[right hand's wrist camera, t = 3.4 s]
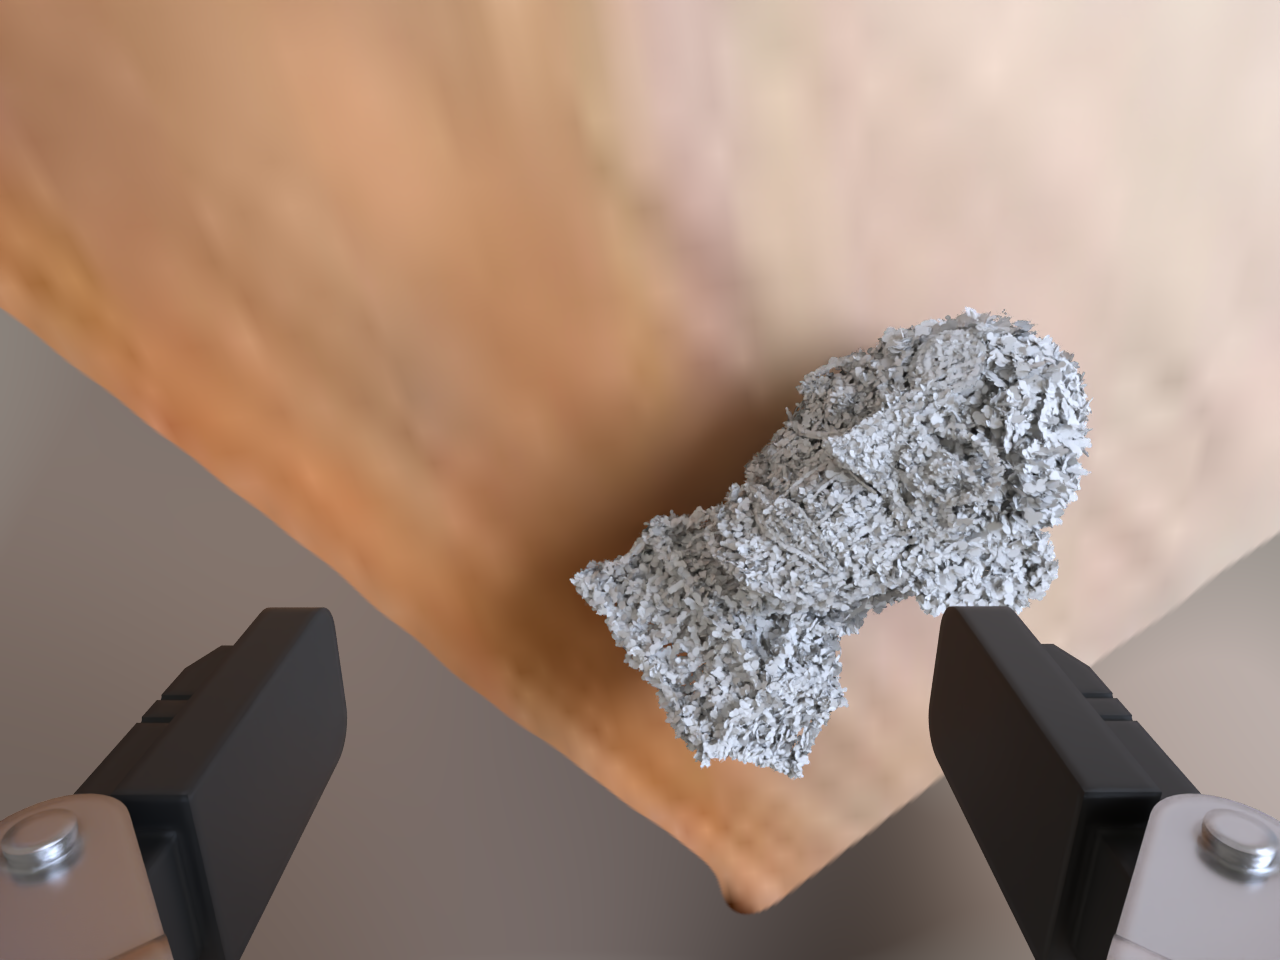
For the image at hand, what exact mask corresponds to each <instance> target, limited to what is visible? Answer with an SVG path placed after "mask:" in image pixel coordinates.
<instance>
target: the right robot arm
mask: <svg viewBox="0 0 1280 960" xmlns="http://www.w3.org/2000/svg"><path fill="white" fill-rule="evenodd" d="M346 728H347V709H346V701H345V694H344V687H343V680H342V673H341V666H340V659H339V652H338V645H337V638H336V631H335V625H334V620H333V617H332V615H331V613H330V611H329V610H328V609H327V608H266V609H264V610H263V611H262V612H261V613H260V614H259V615H258V617H257V618H256V619H255V620H254V621H253V623H252V624H251V625H250V626H249V627H248V629H247V630H246V631H245V632H244V634H243V635H242V636H241V637H240V638H239V639H238V641H237V642H236V643H235V644H234V646H220V647H218V648H217V649H215V650H214V651H212V652H210V653H209V654H207V655H206V656H204V657H202V658H201V659H199V660H198V661H196V662H195V663H193V664H191V665H190V666H188V667H186V668H185V669H184V670H183V671H182V672H181V674H180V675H179V676H178V677H177V678H176V679H175V680H174V681H173V683H172V684H171V685H170V686H169V687H168V688H167V689H166V690H165V692H164V693H163V694H162V698H161V700H157V701H156V702H155V703H154V704H153V705H152V706H151V707H150V709H149V710H148V711H147V712H146V713H145V714H144V715H143V716H142V722H141V723H136V724H135V726H134V727H133V728H132V729H131V730H130V731H129V732H128V733H127V735H126V736H125V737H124V738H123V739H122V740H121V741H120V742H119V744H118V745H117V746H116V747H115V748H114V749H113V750H112V751H111V753H110V754H109V755H108V756H107V757H106V758H105V759H104V760H103V762H102V763H101V764H100V765H99V766H98V767H97V768H96V769H95V771H94V772H93V773H92V774H91V775H90V776H89V777H88V779H87V780H86V781H85V782H84V783H83V784H82V785H81V786H80V788H79V789H78V790H77V791H76V792H75V793H74V794H73V795H68V796H63V797H58V798H54V799H50V800H47V801H44V802H41V803H38V804H35V805H33V806H30V807H28V808H25V809H23V810H21V811H19V812H16V813H14V814H12V815H10V816H8V817H7V818H5V819H3V820H2V821H0V960H240V958H241V956H242V954H243V952H244V950H245V948H246V946H247V944H248V942H249V940H250V938H251V936H252V934H253V932H254V930H255V928H256V926H257V924H258V922H259V920H260V918H261V916H262V914H263V912H264V910H265V908H266V906H267V904H268V902H269V900H270V898H271V896H272V894H273V892H274V890H275V888H276V886H277V884H278V882H279V880H280V878H281V876H282V874H283V871H284V870H285V867H286V865H287V863H288V861H289V859H290V857H291V855H292V853H293V851H294V849H295V847H296V845H297V843H298V841H299V839H300V837H301V835H302V833H303V831H304V829H305V827H306V825H307V823H308V821H309V819H310V817H311V815H312V813H313V811H314V809H315V807H316V805H317V803H318V801H319V799H320V797H321V795H322V793H323V791H324V789H325V787H326V785H327V783H328V781H329V779H330V777H331V775H332V773H333V771H334V769H335V767H336V765H337V763H338V761H339V759H340V756H341V753H342V750H343V747H344V742H345V737H346ZM929 731H930V738H931V743H932V747H933V750H934V753H935V756H936V758H937V760H938V762H939V764H940V766H941V768H942V770H943V772H944V775H945V777H946V779H947V781H948V783H949V785H950V787H951V789H952V791H953V793H954V795H955V797H956V799H957V801H958V803H959V805H960V807H961V809H962V811H963V813H964V815H965V817H966V819H967V821H968V823H969V825H970V827H971V829H972V831H973V833H974V836H975V838H976V840H977V842H978V844H979V846H980V848H981V850H982V852H983V854H984V856H985V858H986V860H987V862H988V864H989V866H990V868H991V870H992V872H993V874H994V876H995V878H996V880H997V882H998V884H999V886H1000V889H1001V891H1002V893H1003V895H1004V897H1005V899H1006V901H1007V903H1008V905H1009V907H1010V909H1011V911H1012V913H1013V915H1014V917H1015V919H1016V921H1017V923H1018V925H1019V927H1020V929H1021V931H1022V933H1023V935H1024V937H1025V939H1026V941H1027V943H1028V945H1029V947H1030V950H1031V952H1032V954H1033V956H1034V958H1035V960H1280V821H1278V820H1277V819H1275V818H1273V817H1272V816H1270V815H1268V814H1266V813H1264V812H1261V811H1259V810H1257V809H1255V808H1252V807H1250V806H1247V805H1245V804H1242V803H1239V802H1236V801H1233V800H1230V799H1226V798H1222V797H1217V796H1212V795H1205V794H1201V793H1200V792H1199V791H1198V790H1197V789H1196V788H1195V786H1194V785H1193V784H1192V783H1191V782H1190V781H1189V780H1188V778H1187V777H1186V776H1185V775H1184V774H1183V773H1182V772H1181V771H1180V769H1179V768H1178V767H1177V766H1176V765H1175V764H1174V763H1173V761H1172V760H1171V759H1170V758H1169V757H1168V756H1167V755H1166V753H1165V752H1164V751H1163V750H1162V749H1161V748H1160V747H1159V745H1158V744H1157V743H1156V742H1155V741H1154V740H1153V739H1152V737H1151V736H1150V735H1149V734H1148V733H1147V732H1146V731H1145V729H1144V728H1143V727H1142V726H1141V725H1140V724H1139V723H1138V722H1137V721H1133V720H1132V715H1131V714H1130V712H1129V711H1128V710H1127V709H1126V708H1125V707H1124V706H1123V704H1122V703H1121V702H1120V701H1119V700H1118V699H1117V698H1113V696H1112V692H1111V691H1110V690H1109V689H1108V687H1107V686H1106V685H1105V684H1104V683H1103V682H1102V681H1101V679H1100V678H1099V677H1098V676H1097V675H1096V674H1095V673H1094V671H1093V670H1092V669H1091V668H1090V667H1089V666H1088V665H1086V664H1084V663H1083V662H1081V661H1080V660H1078V659H1076V658H1075V657H1073V656H1072V655H1070V654H1068V653H1067V652H1065V651H1064V650H1062V649H1060V648H1059V647H1057V646H1056V645H1054V644H1041V643H1040V642H1039V641H1038V640H1037V638H1036V637H1035V636H1034V635H1033V634H1032V632H1031V631H1030V630H1029V629H1028V627H1027V626H1026V625H1025V624H1024V623H1023V621H1022V620H1021V619H1020V618H1019V617H1018V615H1017V614H1016V613H1015V612H1014V611H1013V610H1012V609H1011V608H1010V607H1007V606H950V607H948V608H947V609H946V610H945V612H944V614H943V617H942V620H941V625H940V632H939V640H938V647H937V654H936V661H935V668H934V675H933V682H932V689H931V697H930V704H929Z"/></svg>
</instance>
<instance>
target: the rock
mask: <svg viewBox="0 0 1280 960" xmlns="http://www.w3.org/2000/svg"><path fill="white" fill-rule="evenodd" d="M965 307H966V306H965ZM965 311H966V313H965V314H961V315H960V316H958V317H955V318H956V320H954V319H950V318H951V317H950V316H949V315H947V316H946V317H945V318H946V319H947V321H945V322H944V320H943V319H942V320H940V318H939V320H938V321H939V323H938V322H937V320H933V319H932V320H929V321H928V320H926V321H923V322H922V323H921V325H919V324H918V325H916V326H915V327H914V326H912V327H910V328H909V329H907V328H906V330H905V329H904V328H902V329H901V327H900V329H899V328H898V329H899V330H895V329H894V328H892V327H891V326H890V328H889V327H888V328H887V329H886V331H884V334H883V335H884V336H883V337H882V338H879V339H878V340H880V342H878V343H879V344H878V345H879V346H878V345H877V346H875V347H876V348H874V347H873V348H872V347H871V348H868V351H867V350H866V351H867V352H868V353H869V355H868V354H866V353H867V352H866V353H865V352H862V350H859V353H858V352H856V353H855V352H854V353H853V352H852V353H851V355H847V356H845V357H841V358H838V359H837V357H831V358H830V360H829V361H828V363H829V364H827V365H823V366H822V367H820V368H819V367H818V368H819V369H818V370H817V369H816V371H815V372H812V371H811V372H810V374H807V375H804V381H805V382H804V381H803V380H802V381H800V382H799V383H802V384H801V386H800V385H798V386H797V387H795V388H798V389H796V390H797V391H798V392H799V394H798V395H800V394H803V393H804V398H803V401H802V402H801V403H800V404H798V403H796V404H795V405H797V407H796V409H795V411H794V413H793V415H792V414H791V412H790V411H789V410H788V407H786V408H785V409H786V414H787V415H788V419H790V420H789V421H787V420H786V422H784V423H783V424H784V425H785V427H783V428H782V429H780V430H778V431H777V433H778V434H777V433H776V434H774V435H773V437H772V440H771V442H770V443H769V444H770V445H768V444H767V445H768V446H767V445H765V447H764V448H763V449H762V451H763V452H762V451H761V452H762V453H761V452H759V454H758V452H757V451H756V452H757V453H756V454H755V456H758V457H753V460H751V462H750V463H747V464H746V465H744V467H746V469H745V468H744V469H745V470H746V471H744V472H746V473H743V474H746V475H745V478H747V482H746V481H745V482H746V483H745V484H743V485H741V487H739V485H738V483H735V484H734V485H732V488H731V487H729V490H730V492H729V493H730V494H729V497H728V498H727V497H726V499H723V500H726V501H728V502H726V503H725V504H726V505H725V504H724V505H723V502H722V504H721V506H720V505H719V504H717V505H718V507H717V506H715V507H713V506H711V507H712V510H711V509H710V508H708V509H707V510H706V511H705V510H703V509H702V508H701V507H702V506H701V507H700V506H699V507H697V508H696V510H694V511H693V513H692V515H691V516H690V517H688V515H689V514H688V515H687V514H683V515H681V517H679V516H678V515H677V516H678V517H677V516H676V515H675V513H673V509H672V510H670V514H671V515H670V517H667V516H666V515H665V516H664V517H662V518H661V516H659V515H657V516H654V517H655V518H653V519H652V518H651V519H652V520H651V521H650V524H649V523H647V522H643V523H644V524H643V525H649V526H648V527H647V529H643V531H642V533H643V534H641V535H642V537H641V538H640V537H638V538H637V542H636V541H635V542H634V545H635V546H634V545H633V546H632V548H631V549H630V552H629V553H627V554H626V555H625V556H621V555H618V556H617V558H615V559H614V561H612V562H613V563H612V562H609V560H608V561H607V560H605V562H604V563H601V561H600V562H598V563H596V561H593V560H592V562H589V563H588V565H587V566H586V568H589V567H591V568H589V569H585V570H583V569H582V568H581V569H580V570H581V572H580V573H578V572H577V571H576V572H577V573H576V574H575V575H574V576H576V577H574V578H575V580H574V579H569V580H571V583H573V585H575V586H576V590H577V591H576V592H578V594H580V595H581V596H583V597H582V599H583V598H585V600H586V602H587V603H586V604H589V605H590V606H592V607H593V608H592V610H593V611H594V610H596V611H597V613H598V614H599V615H600V616H601V615H602V614H604V616H605V615H607V619H605V621H604V622H605V623H606V624H607V626H608V627H609V630H610V632H611V631H613V634H614V635H613V634H611V635H612V638H613V639H614V640H616V639H617V640H616V641H615V642H616V644H615V645H616V646H618V647H623V648H624V649H625V650H626V653H627V654H625V657H626V659H624V660H623V661H624V663H627V662H628V663H629V666H630V667H631V668H632V667H633V669H638V668H640V669H639V671H640V670H643V671H642V672H643V674H644V675H643V676H641V677H642V680H643V681H644V680H646V681H649V682H650V683H651V684H652V686H655V687H656V688H657V690H658V689H660V690H659V692H656V695H658V696H659V702H658V703H659V705H660V707H659V708H660V709H661V708H664V709H665V711H666V712H669V713H666V715H667V717H668V719H667V718H666V722H667V723H671V727H673V729H676V730H675V734H677V736H675V739H676V738H680V736H681V739H683V740H685V744H686V743H687V742H688V743H687V744H688V745H687V746H686V747H687V749H688V747H689V749H690V750H692V752H693V751H694V750H695V749H697V751H698V752H697V751H696V752H697V753H696V756H695V755H694V757H695V758H696V761H695V762H697V760H699V761H701V762H702V765H701V766H700V767H701V768H703V767H704V765H705V766H707V767H708V766H710V762H709V761H710V759H711V758H715V757H716V758H717V759H719V758H720V757H721V758H722V757H723V758H724V760H725V758H727V757H728V756H729V755H730V757H731V756H732V757H731V758H732V760H734V759H738V760H739V761H740V762H741V761H743V762H744V763H745V764H746V762H752V760H753V764H754V763H755V765H756V766H757V767H758V765H761V766H760V767H763V768H764V767H766V766H767V767H768V766H769V767H770V768H772V769H773V770H775V771H778V770H779V772H780V773H781V772H783V773H784V775H785V773H786V775H788V777H790V778H793V777H794V776H795V778H794V780H795V779H796V778H798V777H799V779H800V776H801V777H804V776H803V775H802V771H801V770H802V768H801V767H803V765H804V764H809V763H810V762H809V761H808V756H809V755H808V756H807V754H808V753H809V752H810V753H811V751H812V749H811V746H812V743H813V745H815V743H814V740H815V738H816V737H817V735H818V733H819V731H821V730H822V729H821V728H820V727H821V725H823V724H824V725H826V726H827V724H826V723H827V722H828V719H829V720H830V718H829V716H830V715H831V714H830V713H829V712H832V711H834V710H837V709H836V708H838V706H839V707H842V706H845V707H848V706H849V705H848V704H847V703H848V702H847V699H845V698H844V697H842V696H843V695H844V694H843V693H842V692H843V691H844V692H846V691H847V688H843V689H842V688H841V687H840V683H838V680H839V678H841V677H839V674H840V672H841V671H842V668H843V666H842V663H839V662H838V659H839V657H840V656H841V652H840V655H839V654H838V657H836V655H835V650H837V651H839V650H840V651H841V649H842V648H841V646H840V644H839V641H840V639H841V636H842V635H846V634H847V635H850V634H851V633H852V632H853V633H852V634H854V633H855V634H859V632H858V629H860V627H862V625H863V624H864V620H862V619H863V618H864V619H865V617H866V618H867V614H866V613H867V612H868V611H867V610H869V609H871V608H873V607H874V608H873V609H874V610H873V611H875V612H876V613H877V614H880V612H881V611H883V608H886V607H887V606H885V605H886V602H887V603H890V605H891V606H892V604H893V603H894V604H895V602H894V601H895V600H896V601H898V603H899V602H900V601H901V600H903V599H908V597H909V596H914V595H915V596H916V601H918V603H920V604H919V605H921V606H920V608H921V609H922V610H924V613H926V614H927V615H928V614H931V615H933V616H934V617H935V616H938V615H940V612H941V611H943V612H944V610H945V609H946V608H948V607H950V606H1007V607H1010V608H1011V609H1012V610H1013V611H1014V610H1015V609H1016V610H1015V612H1017V615H1018V614H1019V613H1020V612H1022V607H1024V608H1025V606H1028V607H1029V603H1030V602H1028V599H1027V598H1030V599H1031V598H1032V599H1033V600H1034V599H1037V600H1039V601H1040V600H1043V597H1044V596H1046V592H1044V591H1046V590H1049V586H1050V585H1049V584H1051V581H1052V580H1054V579H1056V578H1058V575H1056V574H1057V572H1058V571H1057V569H1058V568H1059V566H1058V565H1059V564H1058V563H1059V562H1058V561H1057V562H1056V561H1055V560H1054V561H1051V560H1053V559H1054V558H1055V553H1054V552H1053V550H1054V547H1052V546H1053V545H1052V546H1050V545H1051V544H1052V541H1050V543H1049V545H1047V544H1048V542H1047V541H1048V540H1049V539H1050V538H1049V537H1050V535H1051V533H1050V534H1049V531H1048V532H1042V531H1039V529H1040V528H1041V529H1042V528H1043V526H1044V528H1045V526H1050V527H1051V528H1053V527H1052V526H1053V524H1054V525H1057V526H1058V524H1061V522H1063V521H1062V520H1060V519H1061V518H1059V517H1061V515H1063V514H1064V511H1065V510H1064V511H1063V510H1062V509H1066V507H1067V506H1066V504H1067V505H1068V502H1069V503H1070V502H1071V501H1072V502H1074V501H1076V500H1077V499H1078V498H1077V497H1078V496H1077V495H1076V493H1075V494H1074V491H1076V490H1080V489H1081V487H1079V486H1080V485H1079V483H1080V479H1078V478H1079V477H1078V476H1079V475H1081V476H1082V475H1085V474H1086V475H1088V473H1092V472H1090V471H1089V472H1087V471H1086V469H1083V468H1081V464H1079V463H1078V462H1077V459H1076V457H1077V458H1079V457H1080V456H1081V455H1082V452H1083V453H1084V454H1086V455H1087V456H1088V457H1089V455H1088V452H1085V447H1086V446H1087V447H1089V448H1090V447H1092V444H1091V443H1090V442H1091V439H1090V438H1086V437H1084V436H1085V435H1086V434H1087V432H1088V431H1090V430H1092V429H1093V428H1092V429H1087V428H1085V427H1086V426H1087V425H1086V424H1087V422H1088V420H1089V419H1088V418H1087V417H1088V416H1086V415H1088V414H1089V411H1090V413H1091V412H1092V411H1091V409H1090V408H1091V407H1089V403H1088V402H1087V401H1089V400H1087V401H1085V400H1086V399H1085V397H1086V398H1087V395H1086V394H1085V393H1084V390H1083V388H1085V386H1086V384H1084V385H1081V383H1083V382H1084V381H1083V380H1082V378H1083V376H1084V374H1085V372H1084V371H1083V374H1082V376H1081V374H1079V373H1078V374H1076V373H1077V369H1076V368H1080V366H1077V365H1078V363H1077V362H1075V361H1074V362H1071V361H1072V358H1073V357H1074V354H1071V355H1069V354H1070V353H1068V352H1067V353H1066V352H1065V351H1062V352H1061V353H1060V352H1059V351H1060V350H1061V349H1060V350H1059V348H1060V347H1059V348H1058V347H1057V346H1058V345H1057V344H1055V343H1054V342H1051V341H1052V338H1050V336H1049V335H1047V336H1046V337H1044V338H1043V339H1041V337H1039V338H1037V339H1036V336H1034V335H1036V334H1037V333H1036V332H1037V331H1034V332H1033V331H1031V332H1033V333H1031V334H1030V332H1028V331H1029V330H1030V329H1031V328H1032V327H1033V326H1034V325H1035V324H1030V325H1029V322H1030V321H1029V322H1028V321H1027V320H1026V322H1025V321H1022V320H1017V322H1015V323H1012V324H1013V325H1015V326H1016V325H1017V326H1018V327H1013V325H1011V323H1010V322H1009V320H1010V317H1007V318H1006V317H1003V318H1002V316H999V315H998V316H996V315H993V316H991V317H990V316H989V315H990V313H991V311H990V312H989V313H987V314H986V313H984V315H983V313H982V314H977V312H976V310H973V309H972V308H969V306H968V308H967V307H966V309H965ZM965 311H964V312H965ZM1004 311H1005V309H1004V310H1003V311H1002V313H1003V312H1004ZM960 313H961V312H960ZM962 313H963V312H962ZM1000 314H1001V313H1000ZM1004 314H1005V315H1006V314H1007V313H1006V312H1005V313H1004ZM957 315H958V314H957ZM1008 316H1009V315H1008ZM997 317H998V318H999V320H998V322H995V321H993V320H995V319H996V318H997ZM1011 318H1012V316H1011ZM996 320H997V319H996ZM1003 320H1004V321H1003ZM940 321H941V322H940ZM916 323H917V322H916ZM1027 323H1028V324H1027ZM1037 325H1038V324H1037ZM926 326H927V327H926ZM913 327H914V329H913ZM1010 327H1013V328H1010ZM1034 327H1035V326H1034ZM911 328H912V329H911ZM1041 331H1042V330H1041ZM1033 334H1034V335H1033ZM875 344H876V343H875ZM1058 344H1059V343H1058ZM1056 345H1057V346H1056ZM1055 346H1056V347H1055ZM1060 346H1061V345H1060ZM860 348H861V347H860ZM879 348H880V349H879ZM858 349H859V348H858ZM1067 351H1068V350H1067ZM833 366H834V367H835V369H836V370H840V369H841V370H842V371H840V373H837V374H834V373H833V372H832V373H829V370H830V369H831V368H834V367H833ZM840 366H841V367H840ZM1074 367H1075V369H1074ZM832 370H833V369H832ZM844 371H845V372H847V373H845V372H844ZM827 372H828V373H827ZM825 373H826V374H827V375H828V377H827V375H826V377H824V376H820V375H822V374H824V375H825ZM833 374H834V375H833ZM818 376H819V378H818ZM1086 379H1087V378H1086ZM815 380H816V381H815ZM1081 380H1082V381H1083V382H1082V381H1081ZM1084 380H1085V379H1084ZM802 396H803V395H802ZM1092 399H1093V398H1092ZM1092 399H1091V400H1092ZM1091 400H1090V401H1091ZM1090 401H1089V402H1090ZM804 404H805V405H804ZM803 406H804V408H805V409H802V408H801V407H803ZM799 407H800V410H799V411H796V410H797V409H798V408H799ZM1091 414H1092V413H1091ZM795 415H796V417H794V416H795ZM1090 418H1091V417H1090ZM1087 419H1088V420H1087ZM1086 420H1087V422H1086ZM1084 422H1085V425H1084ZM785 428H787V429H785ZM1084 428H1085V429H1084ZM769 440H770V439H769ZM772 441H773V442H772ZM765 448H766V450H765ZM752 456H753V455H752ZM1078 456H1079V457H1078ZM749 461H750V460H749ZM732 484H733V483H732ZM743 490H744V491H743ZM727 493H728V492H727ZM727 496H728V495H727ZM1066 501H1067V502H1066ZM1060 508H1061V509H1060ZM704 511H705V512H704ZM704 515H706V516H704ZM1064 517H1065V516H1064ZM706 519H707V520H708V522H704V523H702V524H701V522H702V521H705V520H706ZM709 519H710V520H709ZM1061 525H1062V524H1061ZM1042 533H1045V534H1042ZM638 534H640V532H639V533H638ZM1052 536H1053V535H1052ZM1047 538H1049V539H1047ZM1046 543H1047V544H1046ZM633 555H634V556H633ZM619 559H620V560H619ZM1057 560H1058V559H1057ZM589 561H590V560H589ZM603 561H604V560H603ZM603 561H602V562H603ZM596 564H598V565H596ZM1050 564H1051V565H1050ZM599 565H600V566H599ZM598 567H599V568H598ZM985 570H989V571H985ZM982 575H983V576H982ZM997 575H998V576H997ZM981 576H982V577H981ZM980 577H981V578H980ZM983 578H984V579H983ZM617 601H618V602H617ZM615 602H617V606H616V607H614V604H615ZM637 603H638V604H637ZM615 605H616V604H615ZM943 612H941V613H943ZM597 613H596V614H597ZM876 613H875V614H876ZM637 618H638V619H637ZM649 621H650V622H651V623H650V622H649ZM630 622H632V623H630ZM648 622H649V623H650V624H649V625H648ZM652 623H653V625H652ZM647 631H648V632H647ZM647 633H648V634H647ZM837 635H839V637H840V638H839V637H838V636H837ZM833 640H834V641H833ZM837 640H838V641H837ZM669 642H670V643H671V642H672V647H673V648H672V649H671V646H667V648H666V649H665V648H664V647H663V645H666V644H667V645H668V643H669ZM619 643H620V644H619ZM673 643H674V645H673ZM624 644H625V645H624ZM662 647H663V648H662ZM660 648H661V649H660ZM663 649H664V650H663ZM680 651H681V652H680ZM679 652H680V653H682V652H683V653H684V652H687V654H688V658H687V656H686V657H684V656H679V657H680V658H677V657H678V656H676V655H677V654H679ZM683 653H682V654H683ZM631 654H632V655H633V660H632V656H631ZM834 655H835V656H834ZM625 657H624V658H625ZM697 657H698V658H697ZM699 657H700V658H699ZM836 658H837V659H836ZM840 658H841V657H840ZM702 663H704V664H703V665H701V664H702ZM705 663H706V664H705ZM700 665H701V667H698V666H700ZM629 666H628V667H629ZM841 667H842V668H841ZM700 670H704V671H703V672H701V671H700ZM639 671H638V672H639ZM692 671H693V672H692ZM690 672H692V673H693V676H691V673H690ZM836 675H838V677H837V676H836ZM688 676H689V677H688ZM694 676H695V677H694ZM833 676H836V677H833ZM641 677H640V678H641ZM837 678H838V679H837ZM693 680H695V683H694V684H693V685H689V684H690V683H691V682H692V681H693ZM649 682H647V683H648V684H650V683H649ZM680 682H681V683H680ZM693 682H694V681H693ZM678 683H679V684H678ZM648 684H647V685H648ZM685 684H686V685H685ZM691 684H692V683H691ZM681 685H682V686H681ZM684 686H685V687H684ZM836 687H837V689H836ZM694 692H695V693H694ZM659 705H658V706H659ZM830 710H832V711H830ZM663 711H664V710H663ZM729 711H730V712H729ZM798 712H799V713H798ZM828 713H829V714H828ZM811 719H812V721H813V722H811V723H810V720H811ZM802 727H803V728H804V727H805V728H804V730H803V731H804V733H803V735H802V736H801V735H799V736H798V738H797V734H798V732H799V731H800V729H802ZM813 727H814V728H813ZM818 729H819V730H818ZM676 732H677V733H676ZM800 732H801V731H800ZM797 741H799V742H798V744H797ZM794 743H796V744H795V746H794ZM792 745H793V746H794V747H793V749H792ZM791 749H792V751H791ZM688 752H689V751H688ZM727 755H728V756H727ZM726 756H727V757H726ZM694 757H693V758H694ZM721 758H720V759H721ZM723 758H722V759H723ZM719 761H720V760H719ZM757 763H758V765H757ZM775 771H774V772H775ZM779 775H780V774H779Z"/></svg>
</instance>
